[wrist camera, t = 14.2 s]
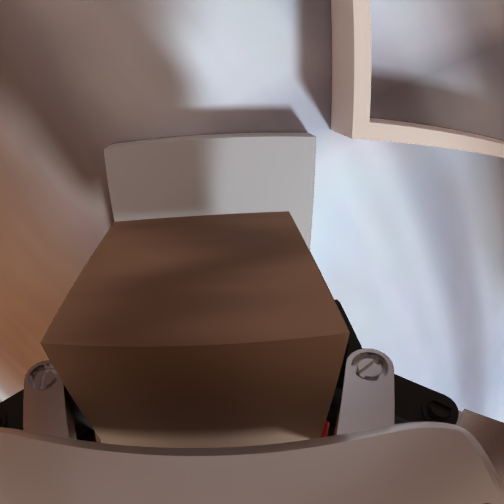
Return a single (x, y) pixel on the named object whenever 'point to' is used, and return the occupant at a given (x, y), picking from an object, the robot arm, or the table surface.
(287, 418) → the walnut block
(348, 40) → the beige square frame
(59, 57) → the table surface
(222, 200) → the display stand
